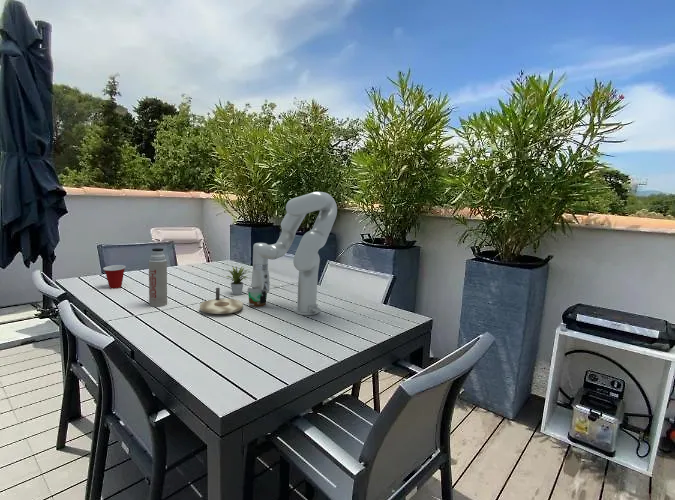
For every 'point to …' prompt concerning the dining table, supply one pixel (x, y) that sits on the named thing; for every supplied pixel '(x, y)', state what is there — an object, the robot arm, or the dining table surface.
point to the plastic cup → (114, 275)
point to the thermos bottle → (157, 278)
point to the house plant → (237, 280)
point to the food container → (255, 297)
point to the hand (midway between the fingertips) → (259, 301)
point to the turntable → (221, 305)
